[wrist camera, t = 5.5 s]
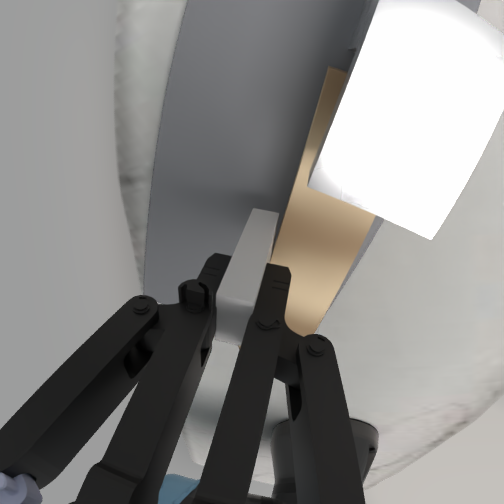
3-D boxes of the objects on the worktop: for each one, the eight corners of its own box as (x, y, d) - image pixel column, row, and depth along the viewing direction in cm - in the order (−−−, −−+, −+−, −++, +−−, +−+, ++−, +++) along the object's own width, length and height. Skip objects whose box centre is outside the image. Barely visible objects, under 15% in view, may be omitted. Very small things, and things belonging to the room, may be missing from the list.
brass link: (301, 343, 25) (294, 385, 22) (241, 326, 25) (228, 366, 22) (414, 98, 13) (439, 113, 10) (318, 62, 13) (315, 65, 10)
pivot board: (299, 342, 27) (297, 352, 26) (149, 286, 27) (143, 295, 26) (474, -4, 9) (482, -7, 8) (228, -87, 9) (221, -95, 8)
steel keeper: (395, 165, 16) (431, 239, 10) (315, 131, 16) (306, 186, 10) (448, 45, 11) (524, 51, 5) (363, 3, 12) (390, -34, 5)
